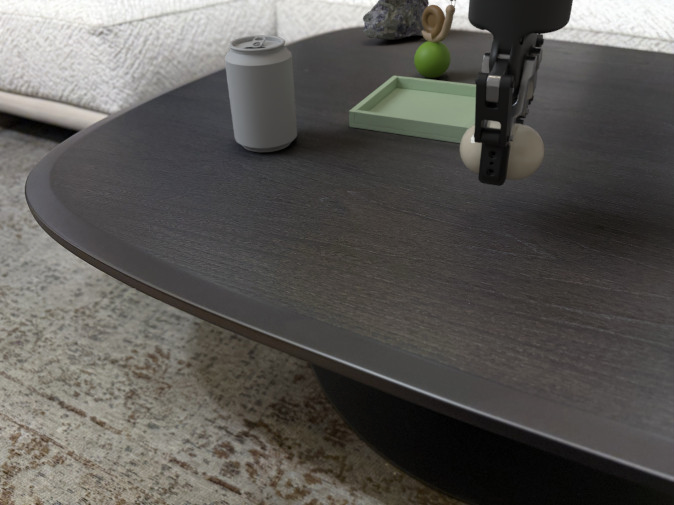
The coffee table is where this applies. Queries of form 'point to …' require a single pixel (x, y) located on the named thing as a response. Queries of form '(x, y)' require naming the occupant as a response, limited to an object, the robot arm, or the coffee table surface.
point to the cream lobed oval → (522, 155)
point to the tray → (418, 108)
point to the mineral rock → (395, 19)
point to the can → (261, 92)
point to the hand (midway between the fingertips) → (498, 168)
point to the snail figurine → (434, 42)
